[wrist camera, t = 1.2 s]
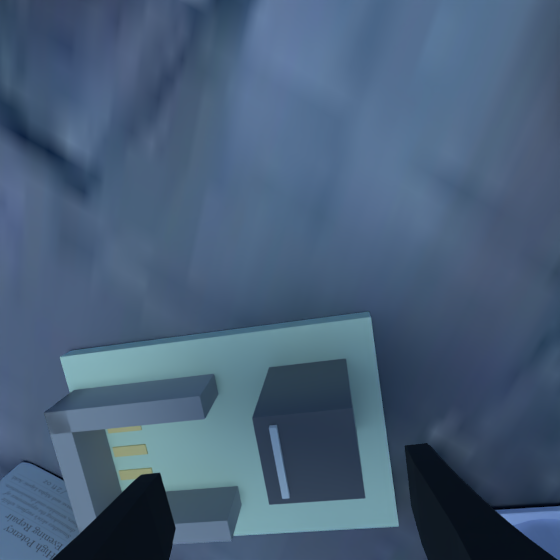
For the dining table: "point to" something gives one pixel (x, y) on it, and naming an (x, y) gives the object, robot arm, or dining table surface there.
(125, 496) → the robot arm
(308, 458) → the plug
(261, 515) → the board
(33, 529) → the skincare box
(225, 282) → the dining table surface
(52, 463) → the dining table surface
